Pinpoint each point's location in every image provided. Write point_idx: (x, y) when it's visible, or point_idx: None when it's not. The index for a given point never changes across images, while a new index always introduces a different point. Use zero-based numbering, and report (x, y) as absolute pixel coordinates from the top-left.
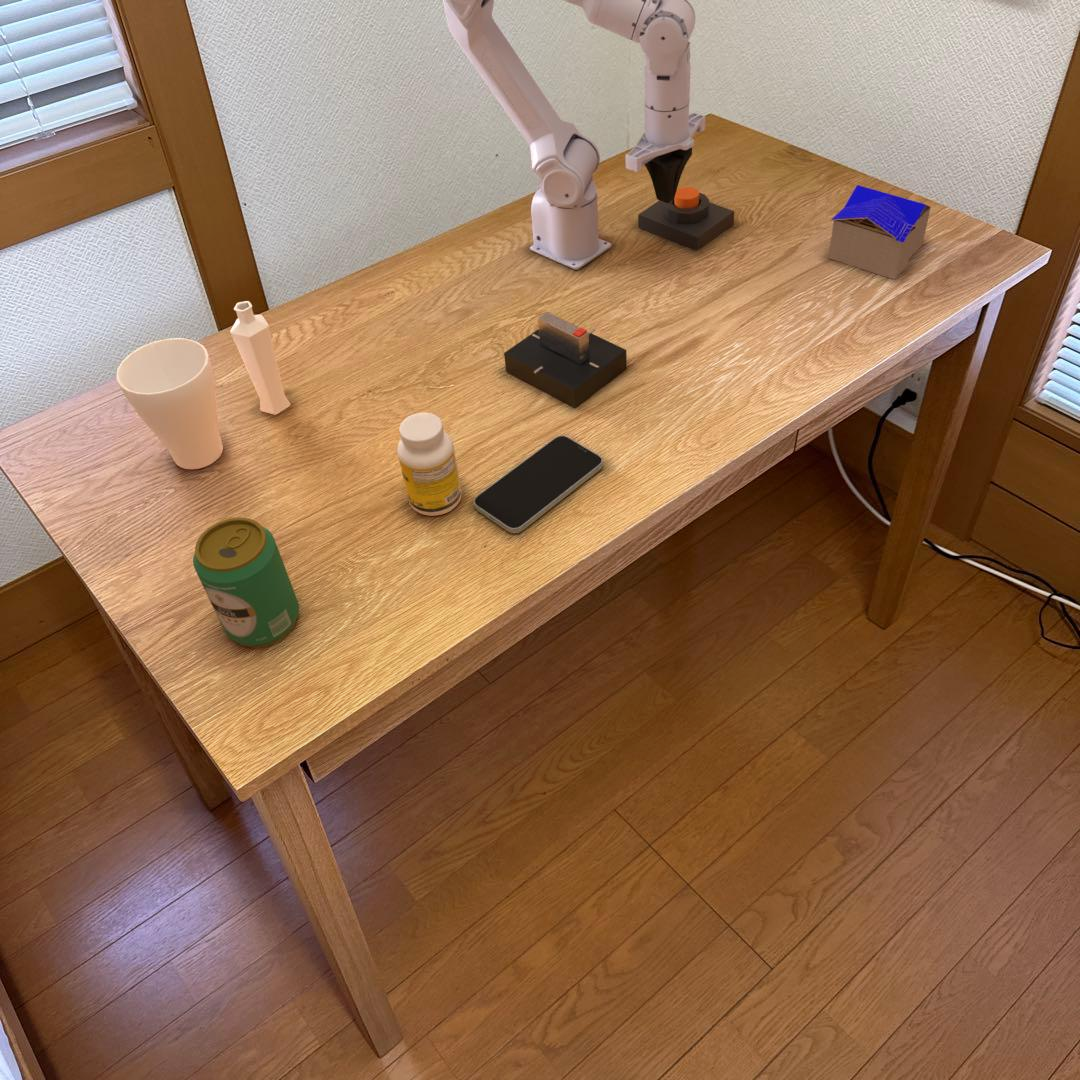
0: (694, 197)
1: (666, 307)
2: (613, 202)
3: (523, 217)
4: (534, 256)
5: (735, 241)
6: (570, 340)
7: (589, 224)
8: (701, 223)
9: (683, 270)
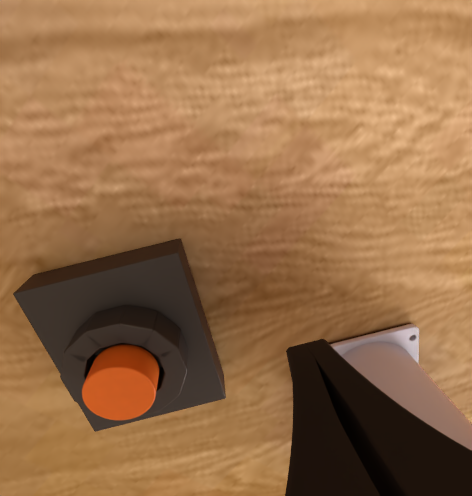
0: (113, 368)
1: (401, 89)
2: (203, 453)
3: None
4: None
5: (72, 214)
6: None
7: (416, 401)
8: (128, 296)
9: (259, 193)
